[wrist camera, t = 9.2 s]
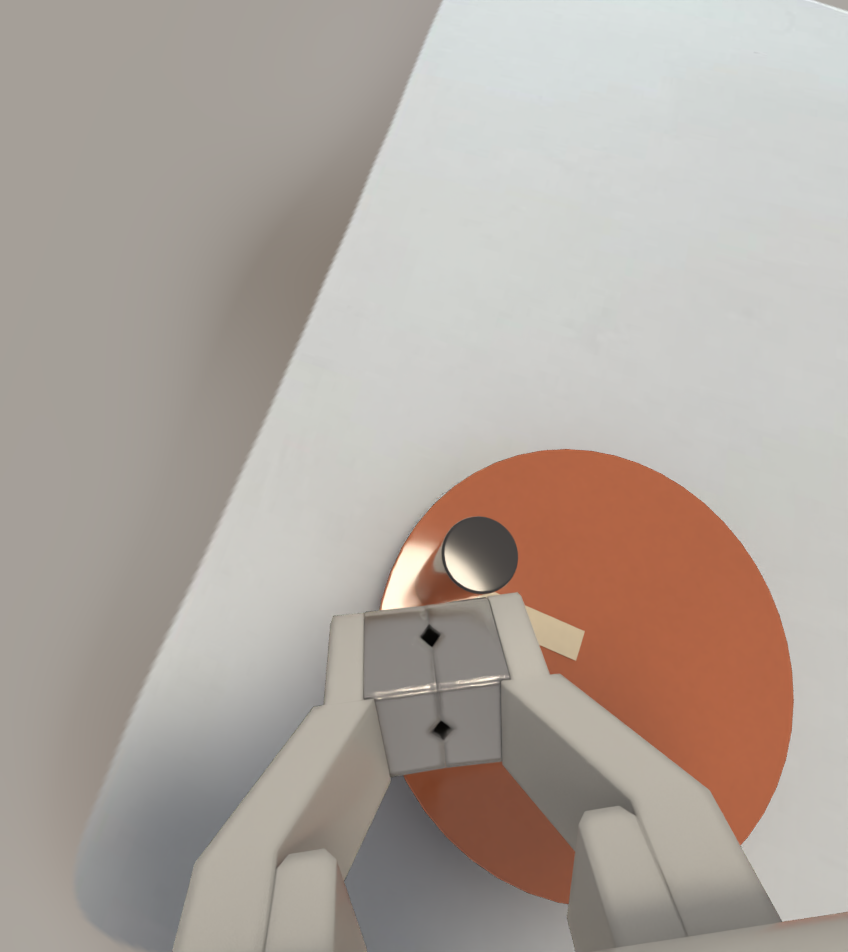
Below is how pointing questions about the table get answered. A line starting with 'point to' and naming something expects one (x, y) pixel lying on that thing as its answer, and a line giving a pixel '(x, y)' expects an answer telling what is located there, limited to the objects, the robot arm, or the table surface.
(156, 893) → the table surface
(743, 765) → the orange turntable with peg
